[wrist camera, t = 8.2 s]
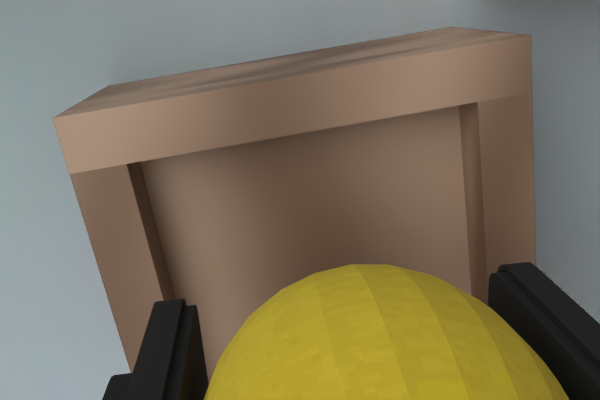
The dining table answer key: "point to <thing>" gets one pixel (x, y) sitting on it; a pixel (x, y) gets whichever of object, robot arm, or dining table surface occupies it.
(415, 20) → the dining table surface
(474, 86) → the walnut tray
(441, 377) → the lemon
